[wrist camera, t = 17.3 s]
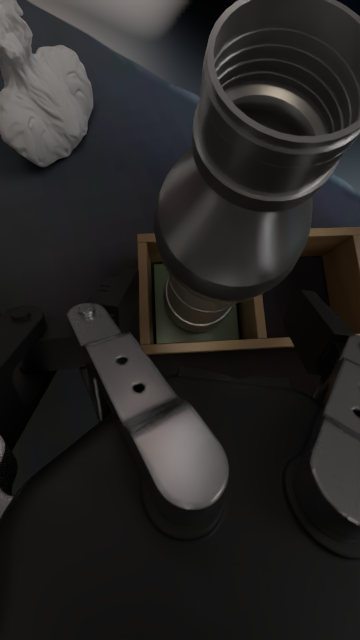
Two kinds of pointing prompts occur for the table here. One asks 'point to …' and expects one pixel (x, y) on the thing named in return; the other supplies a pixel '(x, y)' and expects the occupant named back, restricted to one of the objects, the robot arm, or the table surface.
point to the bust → (40, 93)
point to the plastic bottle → (257, 153)
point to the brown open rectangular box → (342, 284)
